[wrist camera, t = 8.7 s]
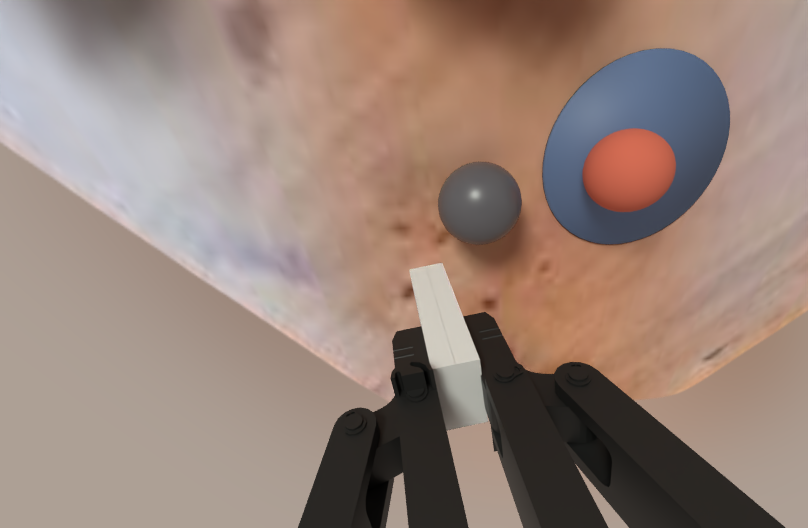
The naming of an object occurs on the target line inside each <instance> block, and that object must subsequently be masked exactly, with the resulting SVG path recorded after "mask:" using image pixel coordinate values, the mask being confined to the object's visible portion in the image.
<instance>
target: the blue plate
mask: <svg viewBox="0 0 808 528" xmlns="http://www.w3.org/2000/svg"><path fill="white" fill-rule="evenodd" d="M729 127H730V110H729V103H728V98H727V95H726V92H725V88H724V86H723V84H722V82H721V80H720V78H719V77H718V76H717V74H716V73H715V72H714V70H713V69H712V68H711V67H710V66H709V65H708V64H707V63H705V62H704V61H703V60H701V59H700V58H698V57H696V56H695V55H692V54H690V53H687V52H684V51H680V50H675V49H650V50H643V51H639V52H636V53H632V54H629V55H627V56H624V57H622V58H620V59H617V60H615V61H614V62H612V63H610V64H608V65H607V66H605V67H603V68H602V69H601V70H599V71H598V72H597V73H595V74H594V75H593V76H591V77H590V78H589V79H588V80H587V81H586V82H585V83H584V84H583V85H582V86H581V87H580V88H579V89H578V90H577V91H576V92H575V93H574V95H573V96H572V97H571V98H570V99H569V101H568V102H567V104H566V105H565V107H564V108H563V109H562V111H561V113H560V114H559V116H558V118H557V120H556V122H555V124H554V126H553V128H552V131H551V133H550V136H549V138H548V142H547V145H546V149H545V153H544V160H543V173H542V177H543V188H544V192H545V196H546V200H547V202H548V205H549V207H550V209H551V211H552V213H553V214H554V216H555V217H556V219H557V220H558V221H559V222H560V223H561V225H563V226H564V227H565V228H566V229H567V230H568V231H570V232H571V233H573V234H574V235H576V236H578V237H580V238H582V239H585V240H587V241H590V242H595V243H600V244H621V243H627V242H632V241H635V240H639V239H642V238H644V237H647V236H649V235H652V234H654V233H656V232H657V231H659V230H661V229H663V228H665V227H666V226H668V225H669V224H671V223H672V222H674V221H675V220H676V219H677V218H679V217H680V216H681V215H682V214H684V213H685V212H686V211H687V210H688V209H689V208H690V207H691V206H692V205H693V204H694V203H695V201H696V200H697V199H698V198H699V197H700V196H701V194H702V193H703V192H704V190H705V189H706V188H707V186H708V185H709V183H710V182H711V180H712V178H713V176H714V175H715V173H716V171H717V169H718V167H719V165H720V162H721V160H722V157H723V154H724V152H725V149H726V144H727V140H728V136H729ZM630 128H638V129H645V130H649V131H652V132H654V133H656V134H658V135H659V136H661V137H662V138H663V139H665V141H666V142H667V143H668V144H669V145H670V147H671V148H672V150H673V153H674V156H675V160H676V171H675V176H674V179H673V182H672V184H671V186H670V187H669V189H668V190H667V192H666V193H665V194H664V195H663V196H662V197H661V198H660V199H659V200H658V201H656V202H655V203H653V204H652V205H650V206H648V207H646V208H643V209H641V210H637V211H632V212H616V211H611V210H608V209H606V208H603V207H601V206H600V205H598V204H597V203H595V202H594V201H593V200H592V199H591V197H590V196H589V195H588V193H587V192H586V189H585V187H584V183H583V177H582V172H583V166H584V162H585V160H586V158H587V156H588V154H589V152H590V151H591V149H592V148H593V147H594V146H595V145H596V144H597V143H598V142H599V141H600V140H601V139H603V138H604V137H606V136H608V135H610V134H612V133H614V132H617V131H620V130H624V129H630Z"/></svg>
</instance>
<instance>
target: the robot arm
mask: <svg viewBox="0 0 808 528" xmlns="http://www.w3.org/2000/svg"><path fill="white" fill-rule="evenodd" d="M409 271H410V275H411V280H412V285H413V290H414V295H415V299H416V304H417V309H418V314H419V318H420V323H421V326H420V327H416V328H411V329H406V330H401V331H397V332H396V334H395V336H394V338H393V340H392V343H393V351H394V352H393V353H394V363H395V369H394V370H393V371H392V374H391V382H392V385H393V389H394V393H395V396H394V398H393V399H392V401H391V402H390V403H388V404H387V405H386V406H384V407H383V408H381V409H379V410H377V411H375V412H372V411H370V410H369V409H366V408H355V409H351V410H349V411H347V412H345V413H344V414H343V415H341V416H340V417H339V418H338V420H337V421H336V423H335V425H334V427H333V431H332V433H331V436H330V439H329V442H328V445H327V447H326V450H325V453H324V456H323V458H322V461H321V464H320V467H319V470H318V473H317V475H316V479H315V481H314V484H313V487H312V490H311V492H310V495H309V498H308V501H307V504H306V507H305V510H304V513H303V515H302V518H301V521H300V523H299V526H298V528H386V522H387V517H388V511H389V505H390V499H391V494H392V488H393V482H394V477H395V476H397V475H399V474H401V473H402V472H403V473H404V484H405V494H406V505H407V515H408V525H409V528H468V524H467V519H466V514H465V510H464V505H463V501H462V497H461V492H460V488H459V484H458V479H457V475H456V471H455V466H454V462H453V457H452V453H451V448H450V444H449V440H448V435H447V431H446V430H451V429H456V428H461V427H465V426H470V425H475V424H480V423H485V422H488V418H489V421H490V424H491V430H492V438H493V445H494V451H498V454H499V457H500V460H501V463H502V466H503V468H504V472H505V475H506V478H507V481H508V483H509V487H510V489H511V492H512V495H513V498H514V501H515V504H516V507H517V510H518V513H519V516H520V519H521V522H522V524H523V528H608V526H607V524H606V522H605V520H604V518H603V516H602V514H601V513H600V511H599V509H598V507H597V505H596V503H595V501H594V499H593V497H592V495H591V494H590V492H589V490H588V488H587V486H586V484H585V482H584V480H583V478H582V476H581V474H580V473H579V470H578V469H577V467H576V465H577V466H578V467H579V468H580V470H581V471H582V472H583V473H584V474H585V476H586V477H587V478H588V479H589V480H590V482H591V483H592V484H593V485H594V486H595V487H596V489H597V490H598V491H599V492H600V493H601V495H602V496H603V497H604V498H605V499H606V501H607V502H608V503H609V504H610V505H611V506H612V508H613V509H614V510H615V511H616V512H617V514H618V515H619V516H620V517H621V518H622V520H623V521H624V522H625V523H626V524H627V525H628V527H629V528H785V527H784V526H783V525H782V524H781V523H779V522H778V521H777V520H776V519H775V518H773V517H772V516H771V515H770V514H769V513H767V512H766V511H765V510H764V509H763V508H761V507H760V506H759V505H758V504H757V503H755V502H754V501H753V500H752V499H751V498H749V497H748V496H747V495H746V494H745V493H743V492H742V491H741V490H740V489H739V488H737V487H736V486H735V485H734V484H733V483H732V482H730V481H729V480H728V479H727V478H726V477H724V476H723V475H722V474H721V473H720V472H718V471H717V470H716V469H715V468H714V467H712V466H711V465H710V464H709V463H708V462H706V461H705V460H704V459H703V458H702V457H700V456H699V455H698V454H697V453H696V452H695V451H693V450H692V449H691V448H690V447H689V446H687V445H686V444H685V443H684V442H683V441H681V440H680V439H679V438H678V437H677V436H675V435H674V434H673V433H672V432H670V431H669V430H668V429H667V428H666V427H665V426H664V425H662V424H661V423H660V422H658V421H657V420H656V419H655V418H654V417H653V416H652V415H650V414H649V413H648V412H647V411H646V410H644V409H643V408H642V407H641V406H640V405H638V404H637V403H636V402H635V401H634V400H632V399H631V398H630V397H629V396H628V395H626V394H625V393H624V392H623V391H622V390H621V389H619V388H618V387H617V386H616V385H615V384H613V383H612V382H611V381H610V380H609V379H607V378H606V377H605V376H604V375H603V374H601V373H600V372H599V371H598V370H597V369H595V368H593V367H592V366H590V365H588V364H584V363H581V362H569V363H565V364H562V365H561V366H559V367H558V368H557V370H556V371H555V373H554V374H540V373H534V372H530V371H527V370H525V368H524V367H523V366H522V365H520V364H518V363H517V362H516V360H515V358H514V356H513V355H512V353H511V351H510V349H509V347H508V345H507V343H506V341H505V339H504V337H503V336H502V333H501V331H500V329H499V327H498V325H497V323H496V321H495V319H494V318H493V317H491V316H490V315H489V314H487V313H486V312H483V313H478V314H473V315H468V316H464V317H463V315H462V312H461V310H460V307H459V305H458V302H457V300H456V297H455V295H454V292H453V289H452V287H451V284H450V282H449V279H448V277H447V274H446V272H445V269H444V266H443V264H442V263H438V264H434V265H429V266H424V267H419V268H415V269H410V270H409ZM487 415H488V418H487ZM575 464H576V465H575Z"/></svg>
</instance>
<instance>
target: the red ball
mask: <svg viewBox="0 0 808 528" xmlns="http://www.w3.org/2000/svg"><path fill="white" fill-rule="evenodd" d="M675 171H676V160H675V156H674V153H673V150H672V148H671V147H670V145H669V144H668V143H667V142H666V141H665V139H663V138H662V137H661V136H659V135H658V134H656V133H654V132H652V131H649V130H645V129H638V128H630V129H624V130H620V131H617V132H614V133H612V134H610V135H608V136H606V137H604V138H603V139H601V140H600V141H599V142H598V143H597V144H596V145H595V146H594V147H593V148H592V149H591V151H590V152H589V154H588V156H587V158H586V160H585V162H584V166H583V172H582V177H583V183H584V187H585V189H586V192H587V193H588V195H589V196H590V197H591V199H592V200H593V201H594V202H595V203H597V204H598V205H600V206H601V207H603V208H606V209H608V210H611V211H616V212H632V211H637V210H641V209H643V208H646V207H648V206H650V205H652V204H653V203H655V202H656V201H658V200H659V199H660V198H661V197H662V196H663V195H664V194H665V193H666V192H667V190H668V189H669V187H670V186H671V184H672V182H673V179H674V176H675Z"/></svg>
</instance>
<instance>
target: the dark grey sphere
mask: <svg viewBox="0 0 808 528" xmlns="http://www.w3.org/2000/svg"><path fill="white" fill-rule="evenodd" d="M521 205H522V199H521V193H520V189H519V187H518V184H517V182H516V181H515V179H514V178H513V176H512V175H511V174H510V173H509V172H508V171H506V170H505V169H504V168H502V167H500V166H498V165H496V164H493V163H489V162H473V163H469V164H466V165H464V166H461V167H460V168H458V169H457V170H455V171H454V172H453V173H452V174H451V175H450V176H449V177H448V178H447V179H446V181H445V182H444V184H443V186H442V188H441V191H440V194H439V199H438V209H439V215H440V218H441V220H442V222H443V224H444V226H445V228H446V229H447V230H448V231H449V232H450V233H451V234H452V235H453V236H454V237H456V238H457V239H459V240H461V241H463V242H466V243H469V244H475V245H482V244H488V243H492V242H495V241H497V240H499V239H501V238H502V237H504V236H505V235H506V234H508V232H509V231H510V230H511V229H512V228H513V227H514V225H515V224H516V222H517V220H518V218H519V215H520V211H521Z"/></svg>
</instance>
